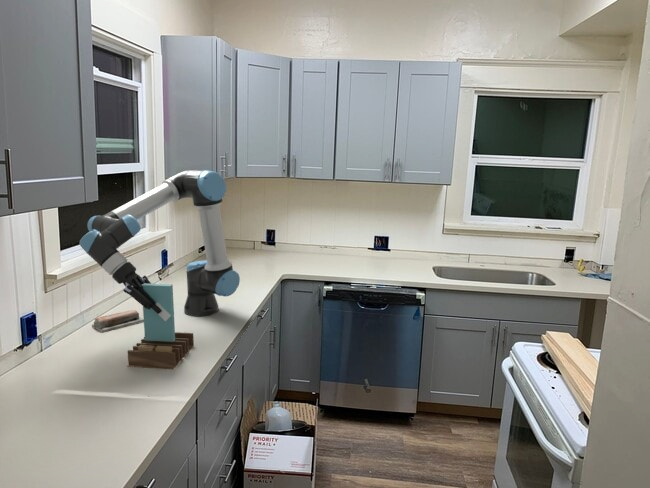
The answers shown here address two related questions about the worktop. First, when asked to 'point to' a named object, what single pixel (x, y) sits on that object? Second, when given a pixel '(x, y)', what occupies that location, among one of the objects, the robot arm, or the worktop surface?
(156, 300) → the tall board
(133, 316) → the packaged product
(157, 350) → the offcut
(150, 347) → the offcut
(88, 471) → the worktop surface
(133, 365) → the rack
